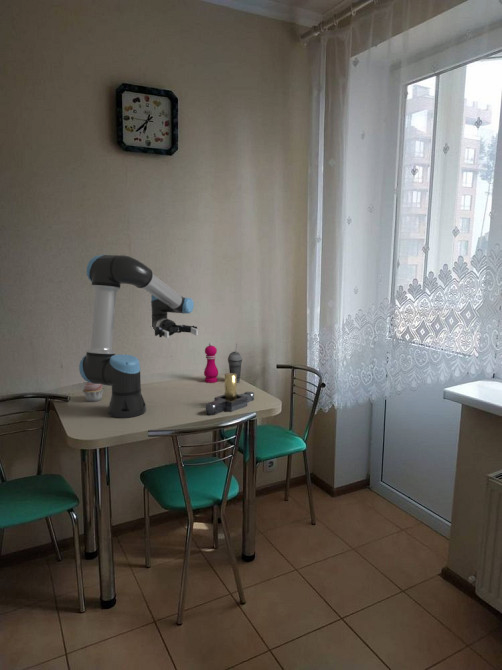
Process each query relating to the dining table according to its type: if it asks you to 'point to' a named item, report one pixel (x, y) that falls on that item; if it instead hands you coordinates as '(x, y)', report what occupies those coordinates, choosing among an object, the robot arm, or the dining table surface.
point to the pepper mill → (211, 364)
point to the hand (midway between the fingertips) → (182, 333)
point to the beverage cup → (235, 363)
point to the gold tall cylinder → (230, 386)
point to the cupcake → (93, 392)
